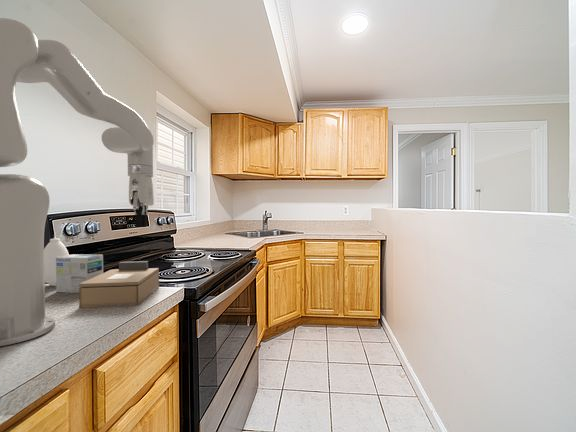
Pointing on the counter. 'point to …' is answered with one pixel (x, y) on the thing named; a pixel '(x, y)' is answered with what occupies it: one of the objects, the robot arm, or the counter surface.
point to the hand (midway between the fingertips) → (141, 226)
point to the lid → (122, 275)
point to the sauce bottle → (53, 258)
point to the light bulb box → (76, 271)
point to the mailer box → (117, 294)
